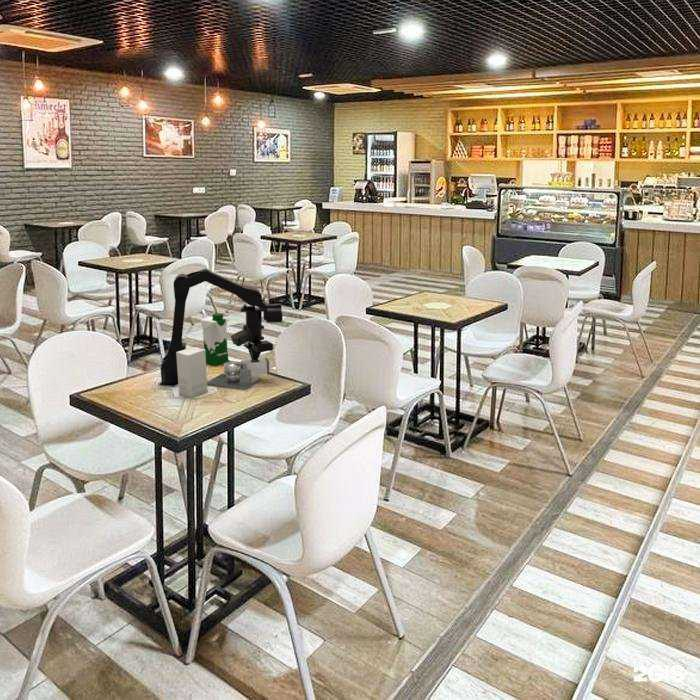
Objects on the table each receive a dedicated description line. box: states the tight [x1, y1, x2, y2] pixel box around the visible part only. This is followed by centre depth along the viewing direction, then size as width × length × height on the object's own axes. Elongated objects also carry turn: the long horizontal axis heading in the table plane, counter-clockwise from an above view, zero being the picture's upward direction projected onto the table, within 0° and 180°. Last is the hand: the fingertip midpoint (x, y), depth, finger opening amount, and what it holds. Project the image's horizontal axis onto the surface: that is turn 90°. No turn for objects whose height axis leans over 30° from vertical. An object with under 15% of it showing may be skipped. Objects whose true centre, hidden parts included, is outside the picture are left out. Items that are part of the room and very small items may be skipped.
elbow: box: [223, 357, 270, 376], centre depth 264 cm, size 16×6×5 cm, turn 106°
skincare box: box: [176, 346, 208, 399], centre depth 250 cm, size 8×7×16 cm
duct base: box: [207, 369, 261, 391], centre depth 263 cm, size 16×12×6 cm
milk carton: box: [200, 312, 230, 367], centre depth 286 cm, size 9×9×20 cm
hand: (254, 363), depth 267 cm, fingers closed
